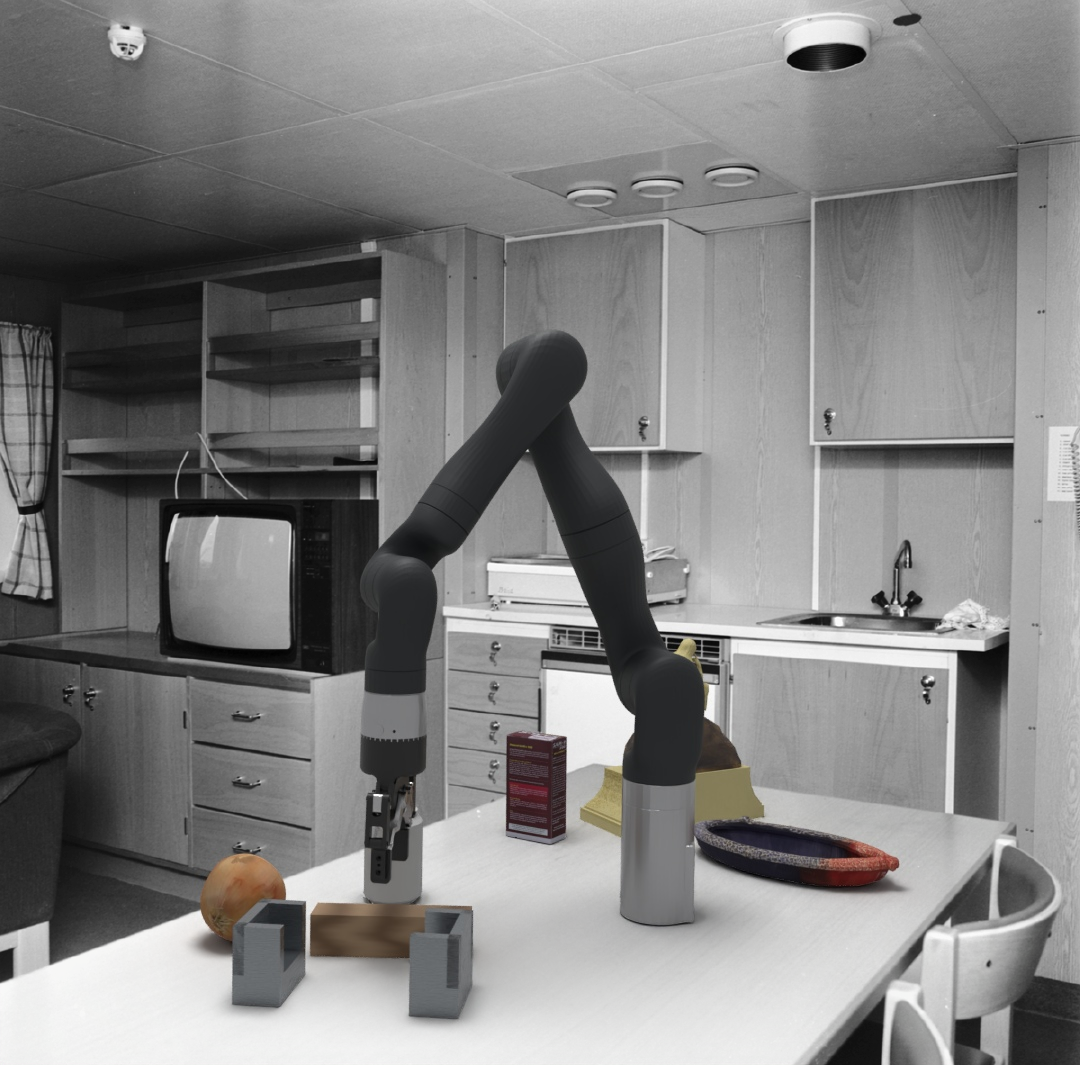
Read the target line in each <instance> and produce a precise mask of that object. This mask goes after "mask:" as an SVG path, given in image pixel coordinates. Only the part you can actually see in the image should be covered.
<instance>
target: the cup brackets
mask: <svg viewBox="0 0 1080 1065" xmlns="http://www.w3.org/2000/svg"><path fill="white" fill-rule="evenodd" d="M306 930H307V900H294V899H293V900H292V899H291V900H290V899H286V900H278V899H261V900H260V901H259V902H258V903H257V904H255V905H254V906H253V907H252V908H251V909H250V910H249V911H248V912H247V913H246V914H245V915H244V916H243V917H242V918H241V919H240V920H239V921H238V922H237V923H236V924H235V925H234V926H233V941H232V950H231V951H232V952H231V954H232V955H231V956H232V959H231V962H232V965H231V968H232V971H231V974H232V976H231V977H232V979H231V990H232V991H231V1005H242V1006H243V1005H244V1006H256V1007H257V1006H258V1007H271V1008H272V1007H273V1008H274V1007H275V1008H280V1007H281V1006H282V1005H283V1003H284V1002H285V1000H287V998H288V997H289V996H290V994H291V993H292V991H293V990H294V989H295V988H296V987H297V986H298V984H299V983H300V981H301V980H302V979H303V977H305V975H306V957H307V956H306V953H307V952H306V947H307V946H306V943H307V942H306V940H307V937H306V936H307V933H306V932H307V931H306ZM473 952H474V909H472V910H461V909H443V908H427V909H426V911H425V933H419V932H412V934H411V935H410V959H409V970H408V971H409V972H408V974H409V975H408V976H409V979H408V982H409V983H408V984H409V986H408V987H409V989H408V1016H412V1017H422V1018H423V1017H426V1018H441V1019H442V1018H443V1019H455V1020H456V1019H459V1018H460V1015H461V1012H462V1010H463V1008H464V1006H465V1003H466V1002H467V998H468V996H469V994H470V991H471V988H472V986H473V970H474V969H473V966H474V965H473V964H474V963H473V962H474V961H473V959H474V953H473Z"/></svg>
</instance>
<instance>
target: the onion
mask: <svg viewBox="0 0 1080 1065" xmlns="http://www.w3.org/2000/svg"><path fill="white" fill-rule="evenodd" d="M286 890H287V889H286V885H285V882H284V879H283V877H282V876H281V874H280V871H279V870H278V869H277V868H276V867H275V866H274V865H273V864H272V863H270V862H269V861H268V860H266V858H263V857H261V856H258V855H255V854H252V853H238V854H234V855H229V856H226V857H224V858H222V859H220V860H219V861H218V862H217V864H215V866H214V867H213V868H212V870H211V871H210V873H209V874H208V876H207V878H206V880H205V882H204V884H203V887H202V890H201V894H200V913H201V916H202V919H203V920H204V922H205V925H207V927H208V928H209V929H210V930H211V931H213V933H215V934H216V935H217V936H218V937H220V938H222V939H225V940H226V941H229V942H233V926H234V925H235V924H236V923H237V922H238V921H239V920H240V919H241V918H242V917H243V916H244V915H245V914H246V913H247V912H248V911H249V910H250V909H251V908H252V907H253V906H254V905H255V904H257V903H258V902H259V901H260V900H261V899H278V900H287V891H286Z"/></svg>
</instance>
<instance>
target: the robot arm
mask: <svg viewBox="0 0 1080 1065" xmlns="http://www.w3.org/2000/svg"><path fill="white" fill-rule="evenodd" d="M587 357H588V356H587V354H586V351H585V349H584V347H583V346H582V344H581V343H580V342H579V341H578V339H577V338H576V337H574V336H573V335H572V334H570V333H568V332H567V331H564V330H559V329H545V330H540V331H535V332H533V333H531V334H529V335H526V336H524V337H522V338H519V339H517V340H515V341H513V342H511V343H509V344H508V345H507V346H506V347H505V348H504V349H503V350H502V351H501V353H500V354H499V356H498V359H497V360H496V366H495V380H496V385H497V388H498V392H499V393H500V396H501V397H500V398H499V399H498V401H497V403H496V404H495V406H493V409H492V410H491V412H490V413H489V414H488V416H487V417H486V418H485V419H484V421H483V422H482V423H481V425H479V427H478V428H477V429H476V430H475V431H474V432H473V434H472V435H470V437H469V438H468V439H467V440H466V441H465V442H464V443H463V444H462V445H461V446H460V448H458V449H457V451H456V452H454V454H453V455H452V456H451V457H450V458H449V459H448V460H447V462H446V463H445V464H444V465H443V466H442V467H441V469H440V470H439V471H438V473H437V474H436V476H434V478H433V480H432V481H431V483H430V484H429V486H428V487H427V489H425V491H424V492H423V494H422V496H421V497H420V498H419V500H418V502H417V503H416V504H415V506H414V508H413V509H412V511H411V513H410V514H409V515H408V517H407V518H406V519H405V520H404V521H403V522H402V523H401V524H400V525H399V526H398V527H397V528H396V529H395V531H393V532H392V533H391V534H390V536H389V537H388V538H387V539H385V541H384V542H383V543H382V544H381V545H380V546H379V548H377V550H376V551H375V552H374V553H373V555H371V557H370V559H369V560H368V561H367V564H366V565H365V567H364V568H363V572H362V574H361V577H360V581H359V582H360V583H359V592H360V596H361V598H362V600H363V602H364V603H365V605H366V606H367V607H368V608H369V609H370V610H371V611H373V612H374V613H377V624H376V634H375V639H374V640H372V641H371V642H370V643H368V645H367V648H366V651H365V658H364V686H363V687H364V690H363V700H362V703H361V704H362V705H361V712H360V713H361V716H360V745H359V747H360V748H359V749H360V750H359V751H360V753H359V769H360V770H361V772H362V773H364V774H366V775H368V776H371V775H372V776H373V777H374V778H375V779H376V782H375V789H374V788H373V789H372V790H371V792H367V794H366V797H365V820H366V822H365V821H364V833H365V840H364V841H363V846H364V845H365V848H369V849H371V871H370V880H371V882H372V883H379V884H387V883H389V881H390V880H391V868H392V861H406V860H407V859H408V857H409V829H408V827H411V825H412V818H415V815H416V811H415V806H416V807H417V805H416V802H417V801H416V800H417V799H416V796H417V795H416V794H417V793H416V790H417V787H416V786H417V776H418V775H420V774H422V773H423V772H425V770H426V768H427V738H428V737H427V736H428V703H427V652H428V649H429V645H430V641H431V638H432V633H433V628H434V625H435V619H436V614H437V608H438V600H439V599H438V586H437V579H436V576H435V574H434V572H433V569H434V568H435V567H436V565H437V564H438V563H439V562H440V561H441V560H442V559H443V558H445V557H447V556H450V555H452V554H455V553H456V552H457V551H458V550H459V549H460V548H461V547H462V546H463V544H464V543H465V541H466V540H467V539H468V537H469V535H470V534H471V532H472V530H474V528H475V526H476V525H477V524H478V522H479V520H480V519H481V517H482V515H483V514H484V513H485V511H486V509H487V508H488V506H489V505H490V503H491V501H492V500H493V499H494V497H495V496H496V494H497V493H498V491H499V490H500V488H501V487H502V485H503V484H504V482H506V480H507V478H508V477H509V475H510V474H511V472H512V471H513V470H514V468H515V467H516V466H517V464H518V462H520V460H521V459H522V458H523V456H524V455H525V454H526V452H527V451H528V453H529V455H530V457H531V459H532V462H533V464H534V467H535V470H536V473H537V475H538V479H539V482H540V483H541V487H542V490H543V493H544V495H545V498H546V500H547V502H548V505H549V508H550V510H551V513H552V517H553V518H554V522H555V524H556V527H557V528H556V529H557V530H558V534H559V536H560V539H561V542H562V544H563V547H564V549H565V552H566V554H567V556H568V559H569V561H570V565H571V566H572V569H573V572H574V574H575V575H576V578H577V580H578V583H579V585H580V588H581V590H582V592H583V595H584V599H585V600H586V603H587V605H588V607H589V609H590V611H591V614H592V616H593V617H594V620H595V623H596V626H597V628H598V631H599V633H600V637H601V641H602V643H603V648H604V651H605V654H606V658H607V663H608V668H609V671H610V674H611V678H612V682H613V685H614V689H615V692H616V695H617V697H618V699H619V701H620V702H621V704H622V706H623V707H624V708H625V710H627V711H628V712H629V713H630V714H631V715H633V716H634V726H633V727H634V728H633V733H634V740H633V746H632V748H631V750H630V751H628V752H626V753H625V755H624V757H623V756H622V762H621V763H622V817H621V837H620V876H619V877H620V885H619V887H620V889H619V911H620V912H619V913H620V914H621V916H623V917H624V918H626V919H628V920H631V921H633V922H637V923H641V924H645V925H658V926H669V925H670V926H671V925H676V924H682V923H694V921H695V920H694V919H695V918H694V917H695V916H694V915H695V914H694V913H695V912H694V910H695V871H696V870H695V863H696V860H695V859H696V858H695V856H696V855H695V853H696V845H695V836H694V830H695V778H696V766H697V764H698V761H699V759H700V756H701V752H702V744H703V728H704V717H705V712H706V711H705V690H704V683H705V682H704V678H703V679H702V676H701V673H700V671H699V669H698V668H697V665H696V663H695V662H692V661H690V660H689V659H687V658H686V657H683V656H681V655H678V654H675V653H674V652H671V651H669V649H668V647H667V645H666V644H665V642H664V639H663V638H662V636H661V633H660V631H659V629H658V626H657V624H656V622H655V620H654V617H653V614H652V612H651V609H650V605H649V600H648V595H647V585H646V565H645V564H646V563H645V555H644V553H645V552H644V548H643V543H642V540H641V537H640V533H639V531H638V529H637V525H636V523H635V521H634V517H633V514H632V511H631V509H630V507H629V504H628V502H627V499H626V498H625V496H624V494H623V491H622V490H621V488H620V487H619V485H618V483H616V481H615V480H614V479H613V477H612V476H611V474H610V473H609V471H607V470H606V468H605V467H604V465H603V464H602V463H601V462H600V461H599V459H598V458H597V457H596V456H595V454H594V453H593V452H592V450H591V449H590V447H589V446H588V445H587V442H586V441H585V440H584V437H583V436H582V434H581V431H580V430H579V427H578V424H577V422H576V418H575V416H574V413H573V410H572V408H571V404H570V403H571V401H572V400H573V399H574V398H575V397H576V396H577V395H578V394H579V393H580V391H581V390H582V388H583V387H584V385H585V383H586V380H587V375H588V364H589V363H588V358H587ZM703 682H704V683H703ZM378 831H383V836H382V838H380V837H377V833H378Z"/></svg>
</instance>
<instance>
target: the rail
mask: <svg viewBox="0 0 1080 1065" xmlns="http://www.w3.org/2000/svg"><path fill="white" fill-rule="evenodd" d="M427 908H443V909H461V910H473V906H472V905H452V904H451V905H447V904H446V905H443V904H442V905H441V904H408V905H405V904H373V903H357V902H356V903H355V902H353V903H350V902H317V903H316V905H315V906H314V908H313V909H312V911H311V913H310V915H309V920H310V921H309V957H325V958H327V957H330V958H367V959H368V958H371V959H372V958H374V959H408V960H410V935H411V934H412V932H419V933H425V911H426V909H427Z"/></svg>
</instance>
